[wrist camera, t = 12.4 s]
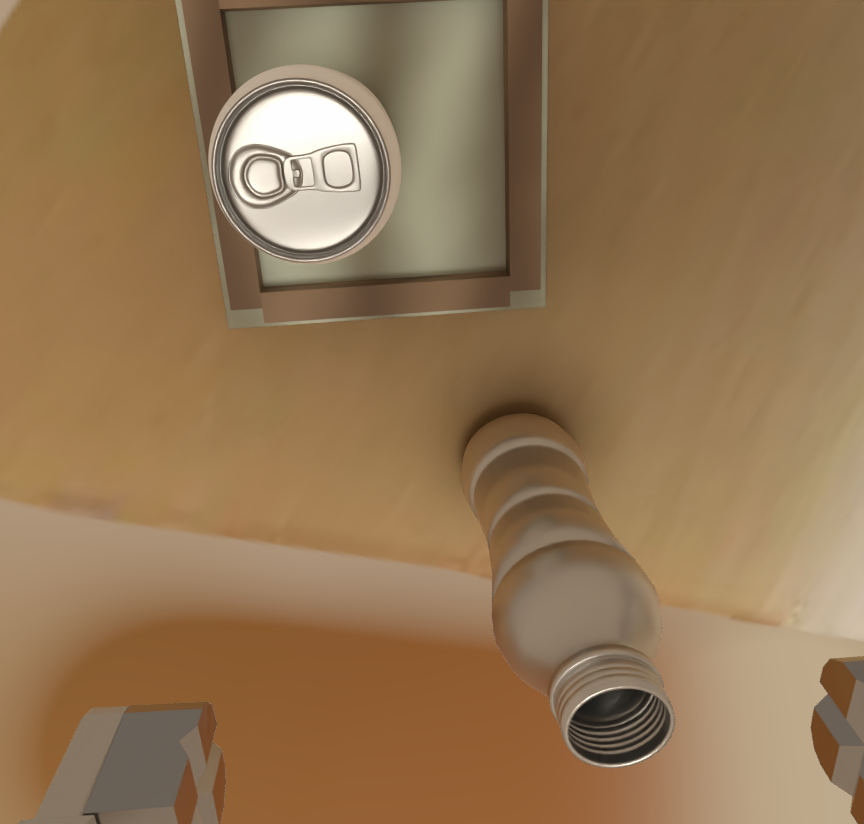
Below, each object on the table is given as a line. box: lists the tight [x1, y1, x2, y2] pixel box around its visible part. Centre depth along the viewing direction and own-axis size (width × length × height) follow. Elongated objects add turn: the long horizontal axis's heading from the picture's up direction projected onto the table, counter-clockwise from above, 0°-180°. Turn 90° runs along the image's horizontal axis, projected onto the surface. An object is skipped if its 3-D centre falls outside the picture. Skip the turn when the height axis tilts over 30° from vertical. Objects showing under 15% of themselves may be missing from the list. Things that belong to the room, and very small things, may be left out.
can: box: [208, 64, 402, 264], centre depth 29 cm, size 6×6×12 cm
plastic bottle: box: [461, 413, 675, 768], centre depth 34 cm, size 6×7×20 cm
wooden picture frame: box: [175, 0, 548, 329], centre depth 35 cm, size 16×16×2 cm
